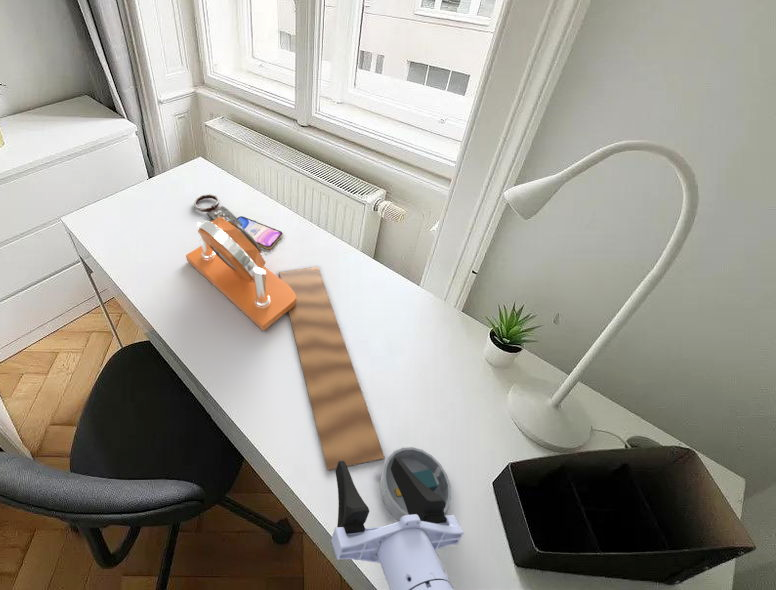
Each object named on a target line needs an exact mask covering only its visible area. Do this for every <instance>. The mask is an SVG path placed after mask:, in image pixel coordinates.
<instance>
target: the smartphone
mask: <svg viewBox="0 0 776 590" xmlns="http://www.w3.org/2000/svg"><path fill="white" fill-rule="evenodd" d="M236 218H237V219H238V220H239V221H240V223H241V224H242V226H241V227H242V228H243V229H245V230H246V231H247V232H248V233H249V234H250V235H251V236H252V237H253V239H254V240H255V241H256V242H257V244H258V245H259V247H260V248H263V249H266V250H272V249H273V247H274V246H275V245H276V244H277V243H278V242H279V241H280V239H282V237H283V235H284V233H283V232H282V230H279V229H276V228H274V227H271V226H268V225H266V224H264V223H262V222H258V221H256V220H253V219H251V218H248V217H246V216H244V215H243V216H238V217H236Z"/></svg>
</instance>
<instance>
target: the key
mask: <svg viewBox="0 0 776 590" xmlns="http://www.w3.org/2000/svg"><path fill="white" fill-rule="evenodd" d="M413 474H414V475H415V476H416V477H417V478H418V479H419V480H420V481H421V482H422V483H423V484H424V485H426V486H427V487H428V488H429V489H431V490H432V491H435V489H436V488H437V486H438V485H437V483H436V480H435V478H434V475H433V473H432V471H431V469H427V470H423V471H418V472H414V473H413ZM395 492H396V495H397V497H399V496H402V495H401V492H400V490H399V488H397V489H395Z"/></svg>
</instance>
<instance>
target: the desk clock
mask: <svg viewBox="0 0 776 590" xmlns="http://www.w3.org/2000/svg"><path fill="white" fill-rule="evenodd" d="M195 225H196V230H197V233H198V234H197V235H198V239H199V243H200V246H199V247H197V248H196V249H194V250H192V251H190V252H189V253H187V254H186V255H185V258H186V261H187V262H188V263H189V264H190V265H191V266H192V267H193V268H195V270H196V271H198V272H199V273H200V275H202V276H203V277H204V278H205V279H206V280H207V281H209V283H211V284H212V286H214V287H215V288H216V289H217V290H218V291H219V292H220V293H221V294H222V295H224V296H225V297H226V299H228V300H229V301H230V302H231V303H232V304H234V306H235V307H237V308H238V309H239V310H240V311H241V312H242V313H243V314H244V315H245V316H247V318H248V319H249V320H250V321H252V322H253V323H254V324H255V325H256V326H257V327H258V328H259V329H260V330H262V331H263V332H265V331H266V330H268V328H270V326H271V325H273V324H274V323H275V322H277V321H278V320H279V319H281V317H283V316H284V315H285V314H286V313H289V310H290V309H291V308H293V307H294V306H295V304H296V295H295V292H294V291H293V290H292V288H291V287H290V286H289V285H287V284H286V283H285V282H284V281H282V280H281V279H280V276H277V275H276V274H275V273H274V272H272V271H271V270H270V269H269V268H267V267H266V266H265V265H266V260H265V259H264V257H263V256H262V247H261V246H259V245H258V244H257V242H256V241H255V240H254V239H253V237H252V236H251V235H250V234H249V233H248V232H247V231H246V230H245V229H243V228H242V227H241V226H240V225H238V224H237V223H235V222H234V221H232V220H228V222H227V221H226V220H225V219H224V218H222V217H219V218H217V219H215V220H213V221H212V220H211V221H210V220H204V221H203V222H200V221H197V222H196V223H195Z"/></svg>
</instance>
